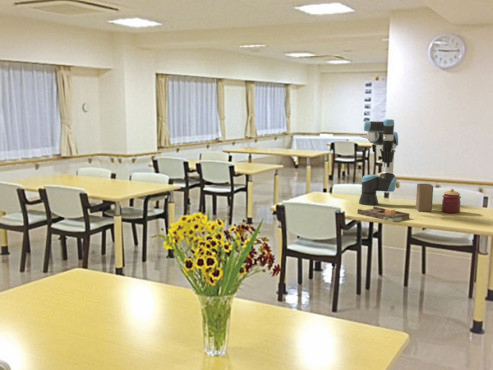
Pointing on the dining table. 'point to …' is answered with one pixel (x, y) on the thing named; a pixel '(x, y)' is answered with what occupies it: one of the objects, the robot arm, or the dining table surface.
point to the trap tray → (383, 214)
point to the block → (424, 197)
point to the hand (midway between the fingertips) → (386, 171)
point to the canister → (451, 202)
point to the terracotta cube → (390, 212)
